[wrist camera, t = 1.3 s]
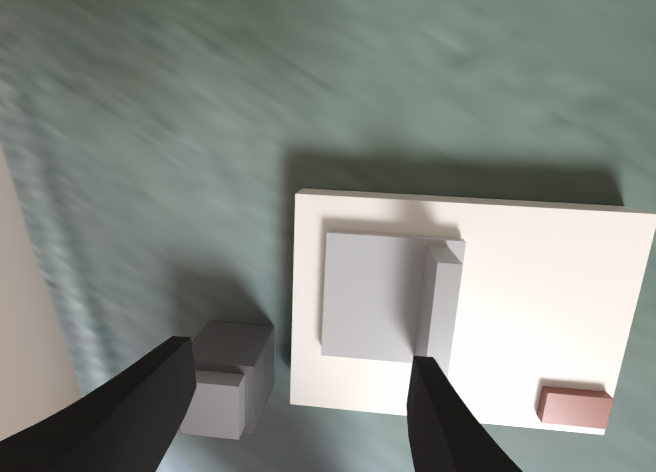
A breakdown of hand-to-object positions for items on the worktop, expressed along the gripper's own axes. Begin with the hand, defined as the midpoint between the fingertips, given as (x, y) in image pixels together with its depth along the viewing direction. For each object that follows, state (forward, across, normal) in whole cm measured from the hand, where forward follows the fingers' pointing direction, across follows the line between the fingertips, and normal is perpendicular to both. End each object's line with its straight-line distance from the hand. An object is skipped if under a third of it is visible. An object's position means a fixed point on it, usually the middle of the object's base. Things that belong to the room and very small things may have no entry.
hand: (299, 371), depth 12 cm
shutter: (+8, -3, +2) cm, 8 cm away
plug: (+9, +5, +7) cm, 13 cm away
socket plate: (+10, -7, +3) cm, 12 cm away
